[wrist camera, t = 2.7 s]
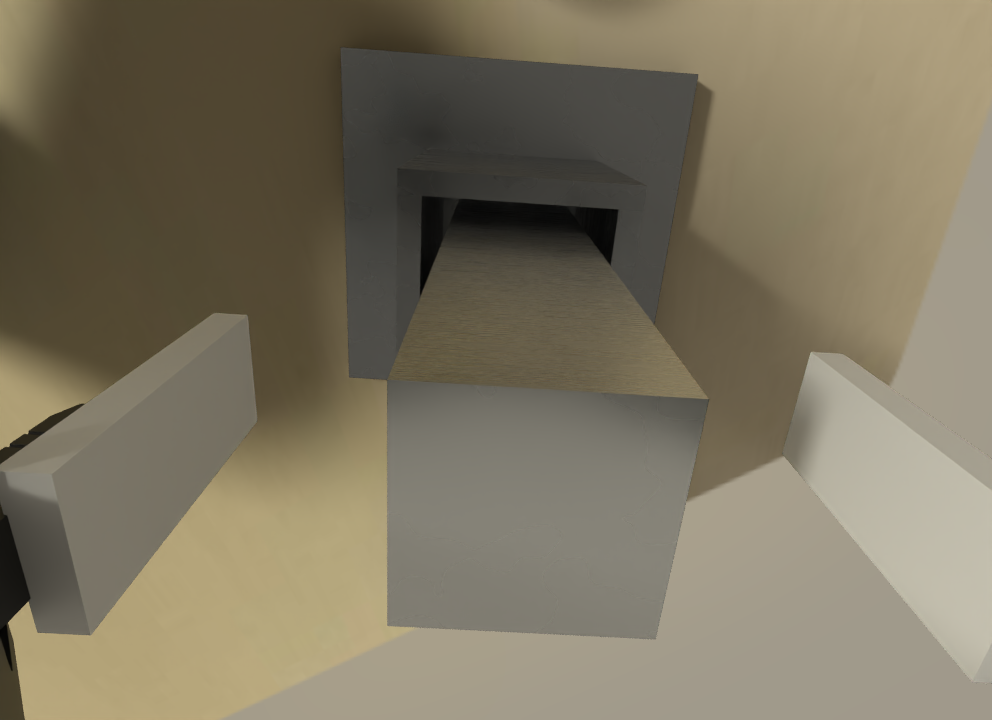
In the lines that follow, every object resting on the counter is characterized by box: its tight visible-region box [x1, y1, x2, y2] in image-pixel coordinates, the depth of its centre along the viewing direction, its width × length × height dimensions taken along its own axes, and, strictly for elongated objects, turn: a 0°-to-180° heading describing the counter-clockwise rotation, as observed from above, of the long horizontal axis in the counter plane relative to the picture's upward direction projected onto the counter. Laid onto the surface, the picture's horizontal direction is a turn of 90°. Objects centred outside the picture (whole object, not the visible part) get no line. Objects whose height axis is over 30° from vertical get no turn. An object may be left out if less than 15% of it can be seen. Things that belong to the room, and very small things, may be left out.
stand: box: [341, 47, 698, 380], centre depth 26 cm, size 16×16×11 cm
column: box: [387, 198, 709, 639], centre depth 20 cm, size 5×5×22 cm
